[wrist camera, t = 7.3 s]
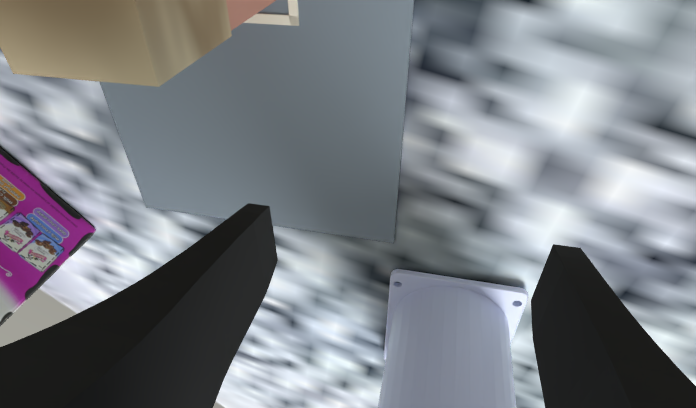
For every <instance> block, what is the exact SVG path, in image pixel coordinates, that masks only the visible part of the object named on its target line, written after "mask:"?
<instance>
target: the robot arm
mask: <svg viewBox="0 0 696 408" xmlns="http://www.w3.org/2000/svg"><path fill="white" fill-rule="evenodd" d="M277 261H278V260H277V253H276V246H275V239H274V233H273V226H272V219H271V213H270V206H266V205H258V204H251V203H248V204H247V205H245V206H244V207H242V208H241V209H240V210H238V211H237V212H236V213H234V214H233V215H232V216H230V217H229V218H228V219H227V220H225V221H224V222H223V223H221V224H220V225H219V226H218V227H216V228H215V229H214V230H212V231H211V232H210V233H208V234H207V235H206V236H204V237H203V238H202V239H200V240H199V241H197V242H196V243H195V244H193V245H192V246H191V247H189V248H188V249H187V250H185V251H184V252H182V253H181V254H179V255H178V256H176V257H175V258H173V259H172V260H170V261H169V262H167V263H166V264H164V265H163V266H162V267H160V268H159V269H157V270H156V271H154V272H153V273H151V274H149V275H148V276H146V277H145V278H143V279H141V280H140V281H138V282H136V283H135V284H133V285H131V286H129V287H128V288H126V289H124V290H122V291H121V292H119V293H117V294H115V295H114V296H112V297H110V298H108V299H106V300H104V301H102V302H100V303H98V304H96V305H94V306H92V307H90V308H88V309H86V310H84V311H82V312H80V313H78V314H76V315H74V316H72V317H70V318H68V319H66V320H64V321H62V322H60V323H58V324H55V325H53V326H51V327H49V328H46V329H44V330H42V331H39V332H37V333H35V334H32V335H30V336H27V337H25V338H22V339H20V340H18V341H15V342H13V343H10V344H8V345H5V346H3V347H0V408H213V406H214V403H215V400H216V398H217V395H218V393H219V390H220V387H221V385H222V382H223V380H224V377H225V375H226V373H227V371H228V369H229V366H230V364H231V362H232V360H233V358H234V356H235V354H236V352H237V350H238V348H239V346H240V344H241V342H242V340H243V338H244V336H245V335H246V333H247V331H248V329H249V327H250V325H251V323H252V321H253V319H254V317H255V315H256V313H257V311H258V309H259V307H260V305H261V303H262V301H263V299H264V296H265V294H266V292H267V289H268V287H269V284H270V281H271V278H272V276H273V273H274V270H275V267H276V264H277ZM398 282H400V283H398ZM527 301H528V292H527V291H526V290H525V289H523V288H519V287H513V286H506V285H500V284H493V283H487V282H480V281H474V280H467V279H461V278H454V277H448V276H441V275H435V274H428V273H422V272H415V271H409V270H402V269H395V270H393V271H392V272H391V276H390V287H389V299H388V311H387V324H386V336H385V348H384V359H385V360H386V362H385V368H384V374H383V380H382V386H381V392H380V398H379V404H378V408H516V399H515V388H514V378H513V367H512V356H511V342H512V340H513V337H514V334H515V332H516V329H517V327H518V324H519V321H520V319H521V316H522V314H523V311H524V308H525V306H526V303H527ZM531 310H532V331H533V342H534V348H535V353H536V359H537V365H538V370H539V376H540V381H541V386H542V392H543V397H544V403H545V408H696V386H695V385H694V384H693V383H692V382H691V381H690V380H689V379H688V378H687V377H686V376H685V375H684V374H683V373H682V371H681V370H680V369H679V368H678V367H677V366H676V365H675V364H674V363H673V362H672V361H671V359H670V358H669V357H668V356H667V355H666V354H665V353H664V352H663V351H662V350H661V348H660V347H659V346H658V345H657V344H656V343H655V342H654V341H653V339H652V338H651V337H650V336H649V335H648V334H647V332H646V331H645V330H644V329H643V328H642V327H641V325H640V324H639V323H638V322H637V320H636V319H635V318H634V317H633V316H632V314H631V313H630V312H629V311H628V309H627V308H626V307H625V306H624V304H623V303H622V302H621V301H620V299H619V298H618V297H617V295H616V294H615V293H614V292H613V290H612V289H611V288H610V286H609V285H608V284H607V282H606V281H605V280H604V278H603V277H602V276H601V274H600V273H599V272H598V271H597V269H596V268H595V267H594V265H593V264H592V263H591V261H590V260H589V259H588V257H587V256H586V255H585V253H584V252H583V251H582V249H581V248H576V247H569V246H561V245H554V244H553V246H552V249H551V251H550V254H549V256H548V259H547V261H546V264H545V266H544V269H543V271H542V274H541V277H540V279H539V282H538V284H537V287H536V289H535V292H534V294H533V297H532V299H531Z"/></svg>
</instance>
